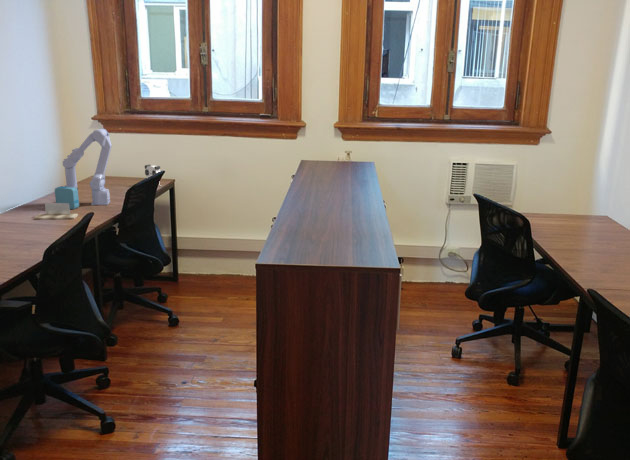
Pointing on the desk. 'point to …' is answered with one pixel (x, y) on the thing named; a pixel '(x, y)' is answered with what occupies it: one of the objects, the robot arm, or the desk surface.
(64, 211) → the bookend
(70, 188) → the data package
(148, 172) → the panda figurine
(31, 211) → the desk surface
